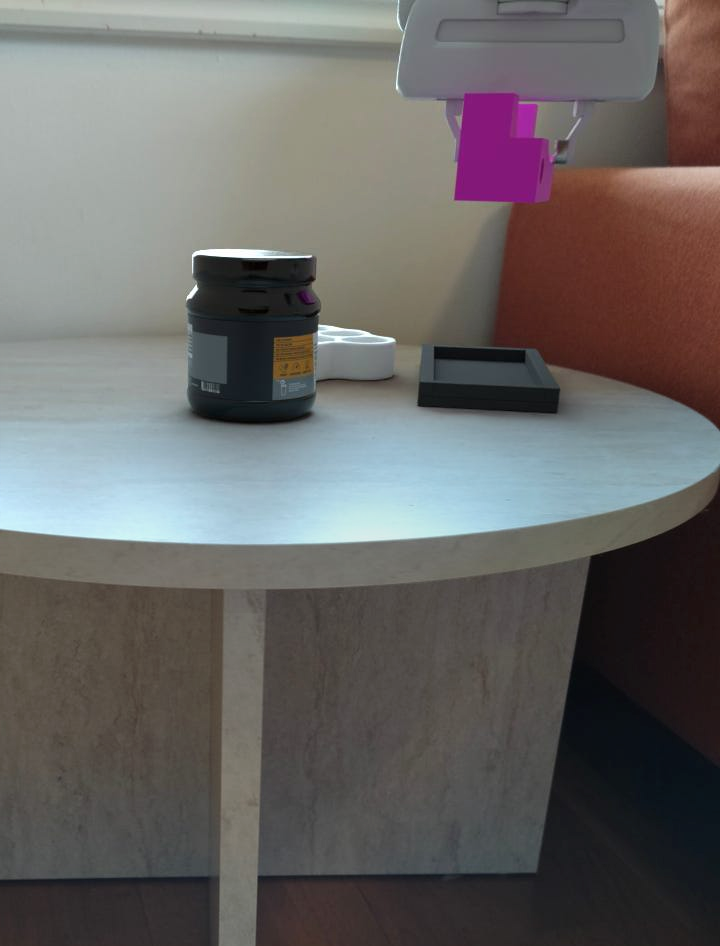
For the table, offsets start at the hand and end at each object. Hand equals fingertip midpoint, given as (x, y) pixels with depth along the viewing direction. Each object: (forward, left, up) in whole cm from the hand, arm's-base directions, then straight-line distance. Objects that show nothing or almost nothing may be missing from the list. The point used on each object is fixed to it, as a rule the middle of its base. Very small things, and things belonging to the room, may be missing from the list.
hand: (512, 163), depth 85 cm
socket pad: (0, -2, -19) cm, 19 cm away
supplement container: (+19, +14, -19) cm, 30 cm away
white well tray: (+17, -7, -19) cm, 27 cm away
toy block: (0, 0, -3) cm, 3 cm away
